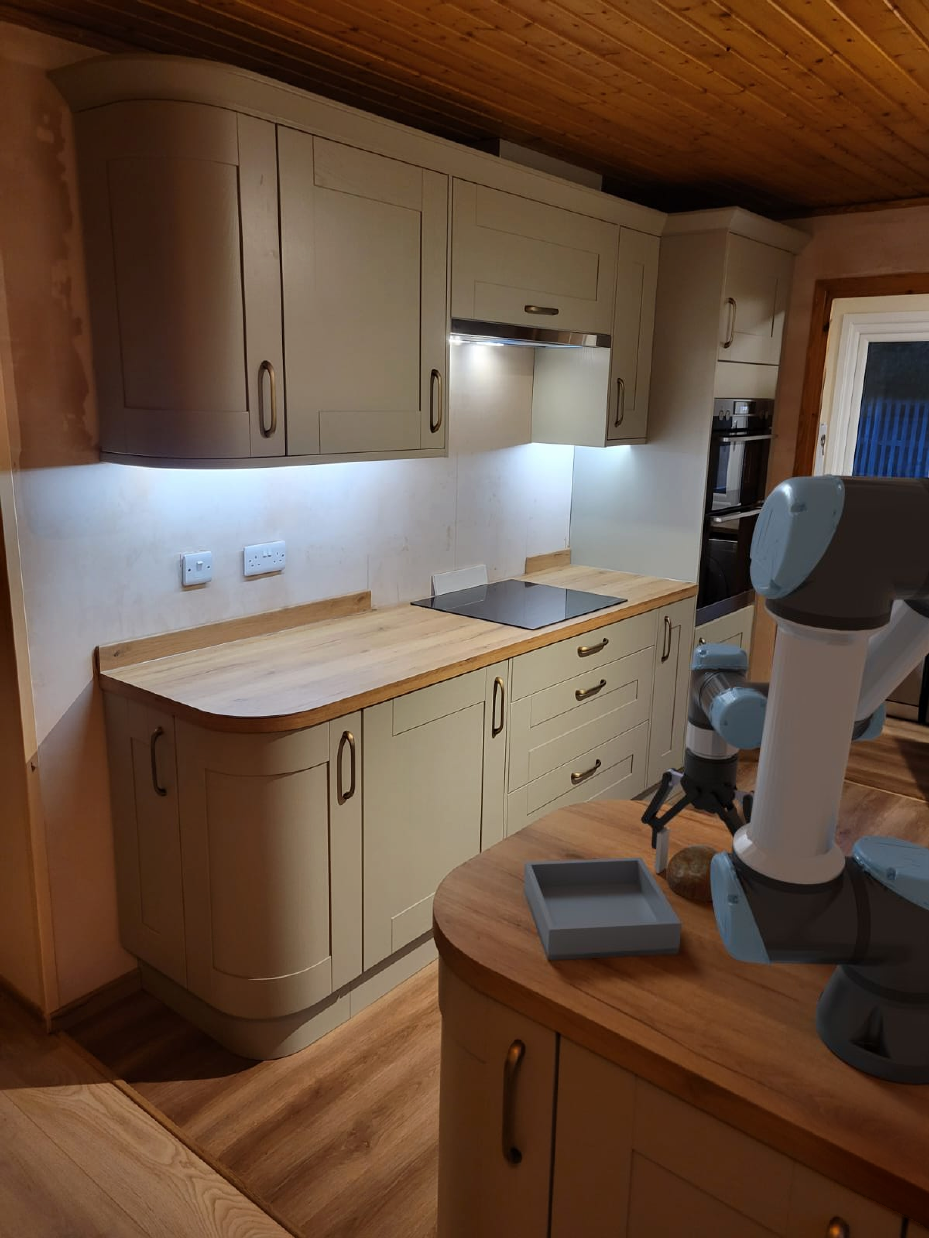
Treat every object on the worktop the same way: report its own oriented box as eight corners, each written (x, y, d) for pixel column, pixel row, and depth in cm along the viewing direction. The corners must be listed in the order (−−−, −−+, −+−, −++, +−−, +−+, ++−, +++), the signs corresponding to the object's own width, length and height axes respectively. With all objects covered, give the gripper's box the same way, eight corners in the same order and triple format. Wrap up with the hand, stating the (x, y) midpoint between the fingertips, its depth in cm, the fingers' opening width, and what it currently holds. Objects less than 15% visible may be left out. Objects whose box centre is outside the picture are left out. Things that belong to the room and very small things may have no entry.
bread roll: (694, 887, 147) (678, 838, 147) (754, 882, 140) (736, 830, 141) (665, 913, 140) (647, 861, 140) (726, 909, 133) (708, 855, 133)
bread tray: (678, 953, 123) (681, 922, 122) (547, 960, 121) (549, 929, 120) (639, 884, 140) (641, 857, 139) (523, 889, 138) (524, 862, 137)
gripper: (805, 763, 131) (790, 901, 136) (647, 723, 145) (639, 848, 151) (786, 780, 125) (771, 923, 130) (624, 736, 140) (616, 866, 145)
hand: (700, 883), depth 141 cm, fingers open, 12 cm apart
